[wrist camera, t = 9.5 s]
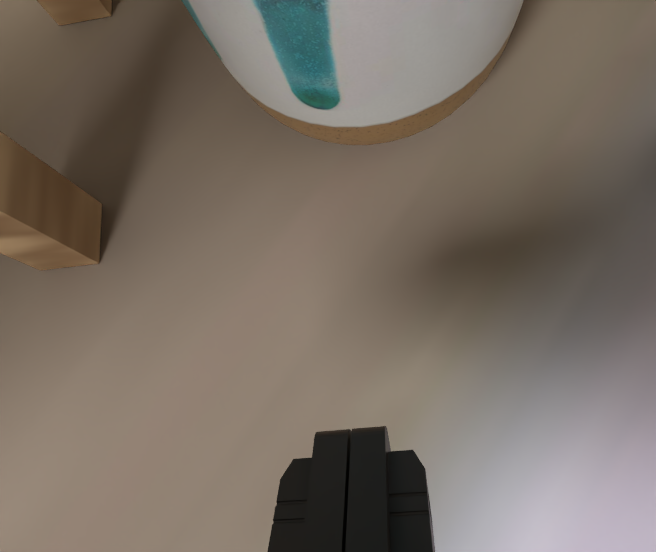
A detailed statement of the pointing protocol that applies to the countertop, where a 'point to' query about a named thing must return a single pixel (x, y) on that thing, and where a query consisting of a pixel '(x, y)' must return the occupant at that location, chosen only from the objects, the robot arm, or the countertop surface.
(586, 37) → the countertop surface
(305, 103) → the vase
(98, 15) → the riser shelf
